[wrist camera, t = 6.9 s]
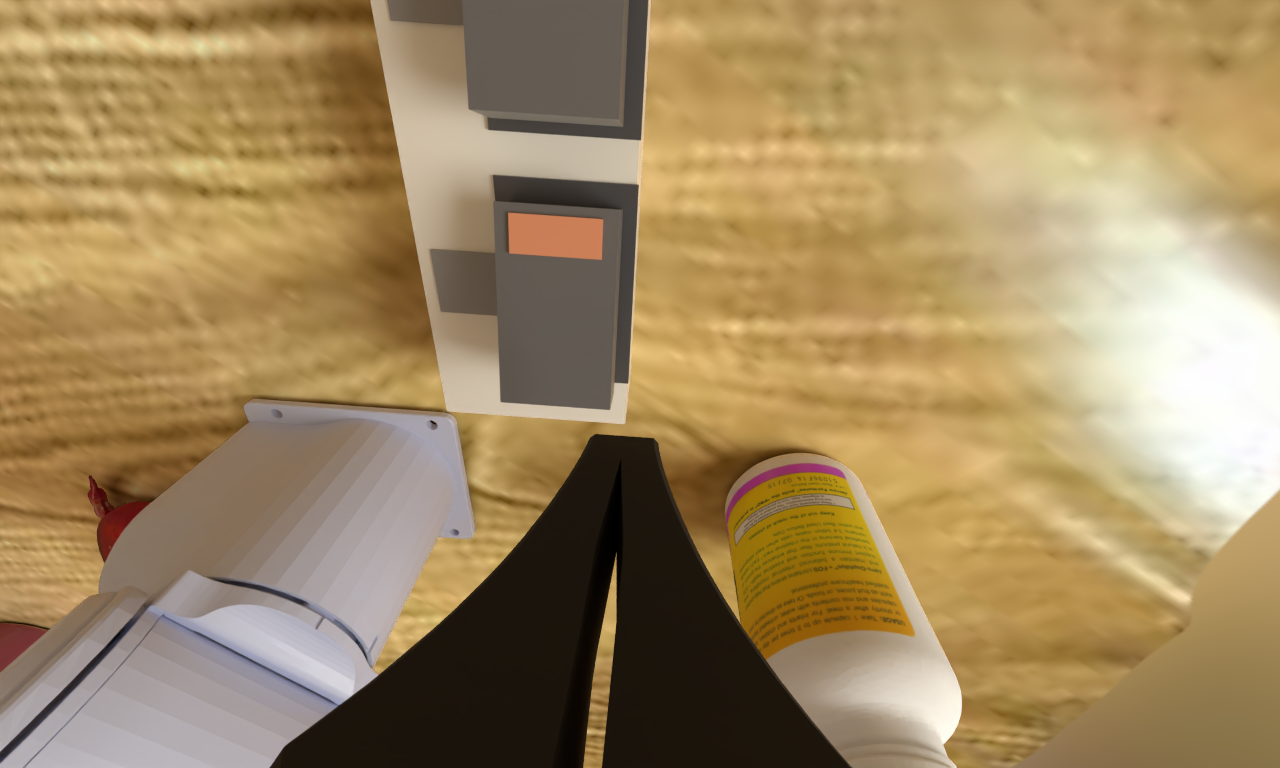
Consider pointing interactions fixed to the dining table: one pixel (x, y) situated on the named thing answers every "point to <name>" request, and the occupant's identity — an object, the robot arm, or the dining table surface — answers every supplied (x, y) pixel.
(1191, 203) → the dining table surface
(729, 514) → the supplement bottle
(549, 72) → the rocker
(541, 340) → the block
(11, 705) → the robot arm
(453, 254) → the rocker switch panel
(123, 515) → the decorative bird figurine
